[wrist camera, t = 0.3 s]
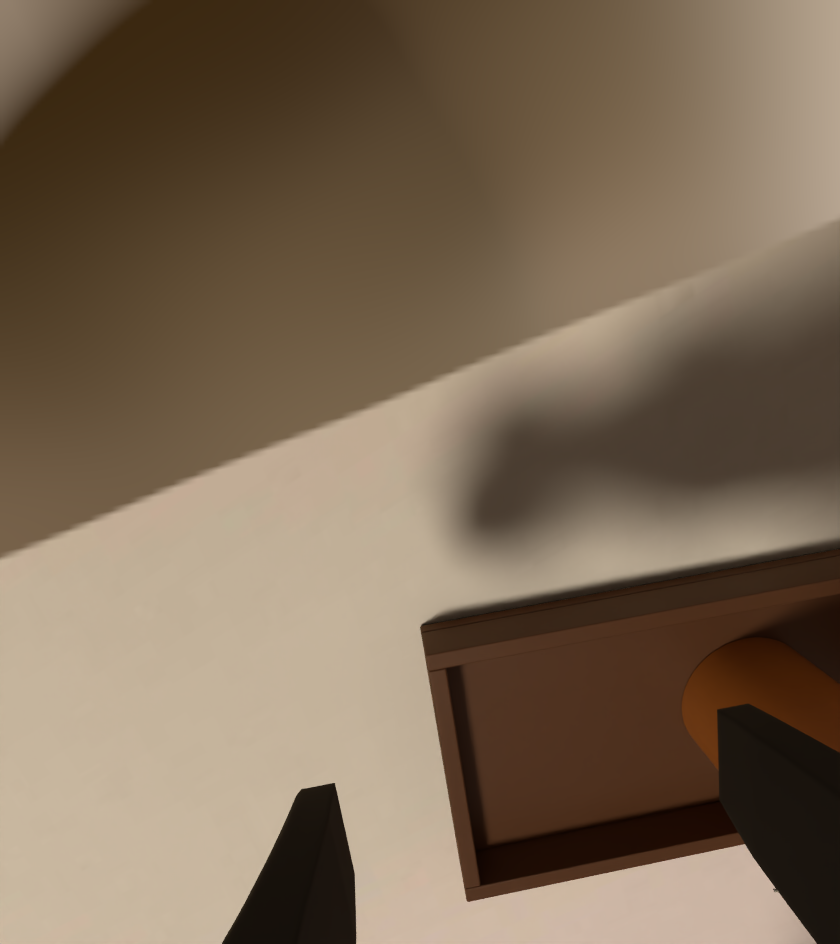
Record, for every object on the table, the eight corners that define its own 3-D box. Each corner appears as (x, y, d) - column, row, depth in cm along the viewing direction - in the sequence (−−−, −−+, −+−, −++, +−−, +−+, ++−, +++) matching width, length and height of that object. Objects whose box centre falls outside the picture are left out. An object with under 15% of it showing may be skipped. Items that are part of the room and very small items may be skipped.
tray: (1005, 743, 25) (1060, 778, 23) (458, 855, 23) (467, 902, 21) (1031, 512, 22) (1095, 530, 20) (419, 625, 21) (425, 655, 19)
